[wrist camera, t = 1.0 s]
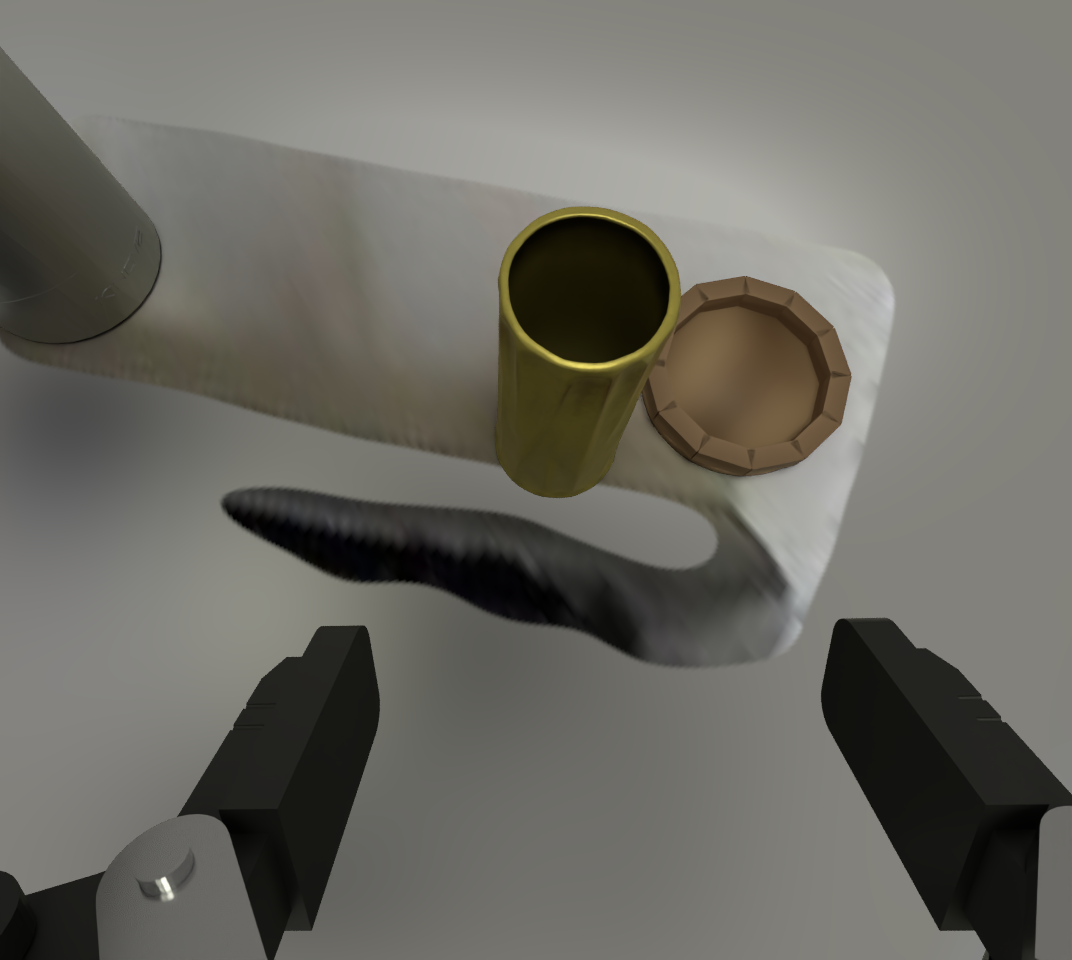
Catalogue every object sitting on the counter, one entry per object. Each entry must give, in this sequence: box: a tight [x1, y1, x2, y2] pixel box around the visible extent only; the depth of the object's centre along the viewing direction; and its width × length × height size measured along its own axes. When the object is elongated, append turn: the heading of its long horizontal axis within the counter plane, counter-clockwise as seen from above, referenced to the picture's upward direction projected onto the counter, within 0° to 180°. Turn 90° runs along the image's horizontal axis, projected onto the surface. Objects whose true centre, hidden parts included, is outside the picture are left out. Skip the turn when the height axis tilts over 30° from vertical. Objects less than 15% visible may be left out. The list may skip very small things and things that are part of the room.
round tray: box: [642, 276, 852, 476], centre depth 31 cm, size 10×10×2 cm
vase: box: [495, 207, 681, 498], centre depth 24 cm, size 6×6×14 cm
